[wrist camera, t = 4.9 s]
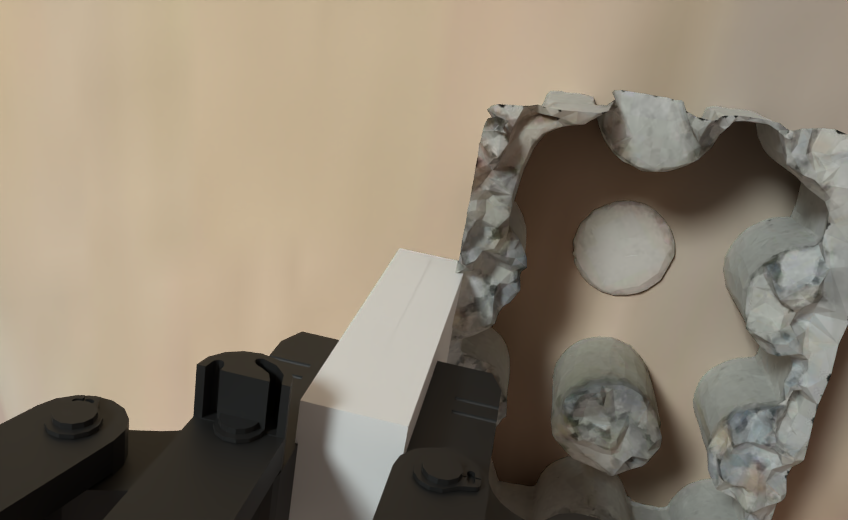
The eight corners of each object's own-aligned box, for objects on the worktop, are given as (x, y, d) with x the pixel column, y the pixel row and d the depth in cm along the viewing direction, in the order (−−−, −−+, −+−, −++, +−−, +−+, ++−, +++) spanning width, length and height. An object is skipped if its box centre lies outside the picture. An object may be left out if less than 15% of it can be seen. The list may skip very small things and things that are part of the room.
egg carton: (496, 62, 17) (477, 79, 13) (851, 117, 16) (944, 152, 12) (430, 465, 20) (399, 573, 16) (715, 529, 19) (752, 658, 15)
